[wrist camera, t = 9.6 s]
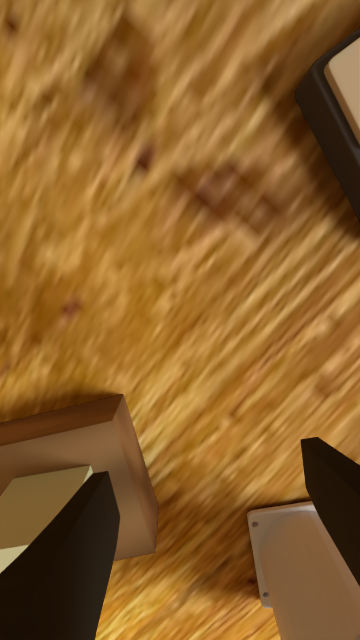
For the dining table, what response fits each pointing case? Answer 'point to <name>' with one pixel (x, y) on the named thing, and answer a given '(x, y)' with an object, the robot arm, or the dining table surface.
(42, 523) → the sage cube
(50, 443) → the walnut riser
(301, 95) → the red cream box
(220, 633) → the dining table surface
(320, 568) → the robot arm
